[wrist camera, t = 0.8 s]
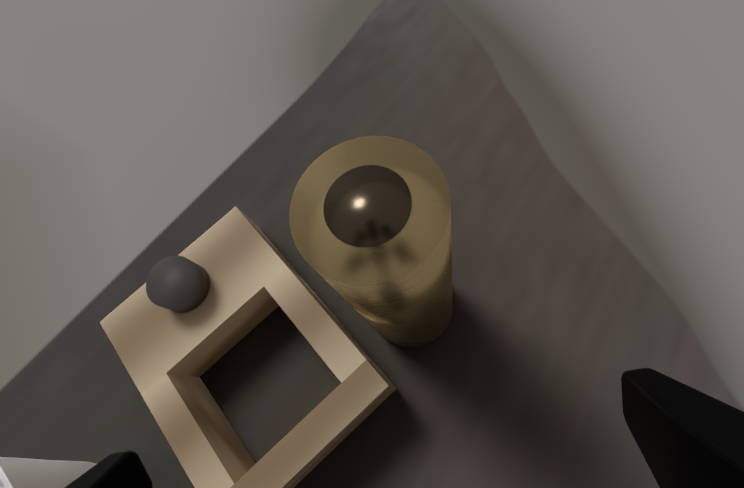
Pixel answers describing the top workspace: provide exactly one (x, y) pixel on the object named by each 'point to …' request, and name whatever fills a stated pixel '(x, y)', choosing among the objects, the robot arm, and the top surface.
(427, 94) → the top surface
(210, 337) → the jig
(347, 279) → the tan piece
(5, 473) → the cup
